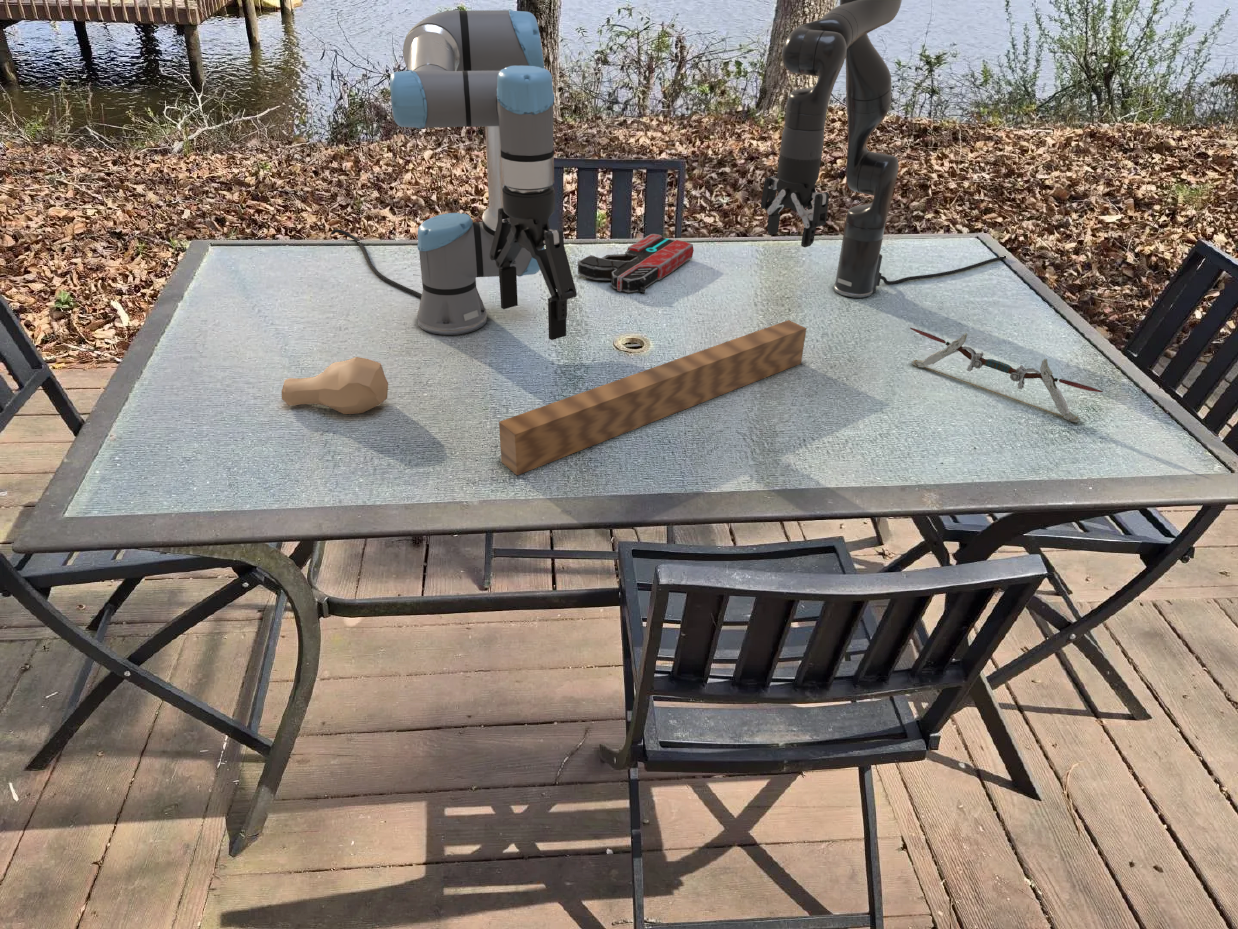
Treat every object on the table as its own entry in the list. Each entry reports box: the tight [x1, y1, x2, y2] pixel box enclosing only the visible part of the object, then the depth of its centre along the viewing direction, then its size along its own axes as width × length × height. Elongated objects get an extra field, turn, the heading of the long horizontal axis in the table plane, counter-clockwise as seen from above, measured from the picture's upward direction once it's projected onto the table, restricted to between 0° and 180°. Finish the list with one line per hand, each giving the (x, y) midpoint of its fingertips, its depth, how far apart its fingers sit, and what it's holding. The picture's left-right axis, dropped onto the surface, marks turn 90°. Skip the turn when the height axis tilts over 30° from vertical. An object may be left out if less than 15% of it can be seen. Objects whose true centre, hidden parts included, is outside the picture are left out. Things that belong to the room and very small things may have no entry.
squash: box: [281, 356, 389, 415], centre depth 163 cm, size 11×20×9 cm, turn 90°
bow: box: [909, 326, 1104, 423], centre depth 173 cm, size 39×2×10 cm, turn 47°
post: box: [498, 319, 807, 476], centre depth 165 cm, size 70×5×8 cm, turn 128°
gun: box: [577, 233, 695, 294], centre depth 225 cm, size 4×31×19 cm
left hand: (532, 321), depth 138 cm, fingers open, 13 cm apart
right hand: (789, 239), depth 167 cm, fingers open, 8 cm apart
